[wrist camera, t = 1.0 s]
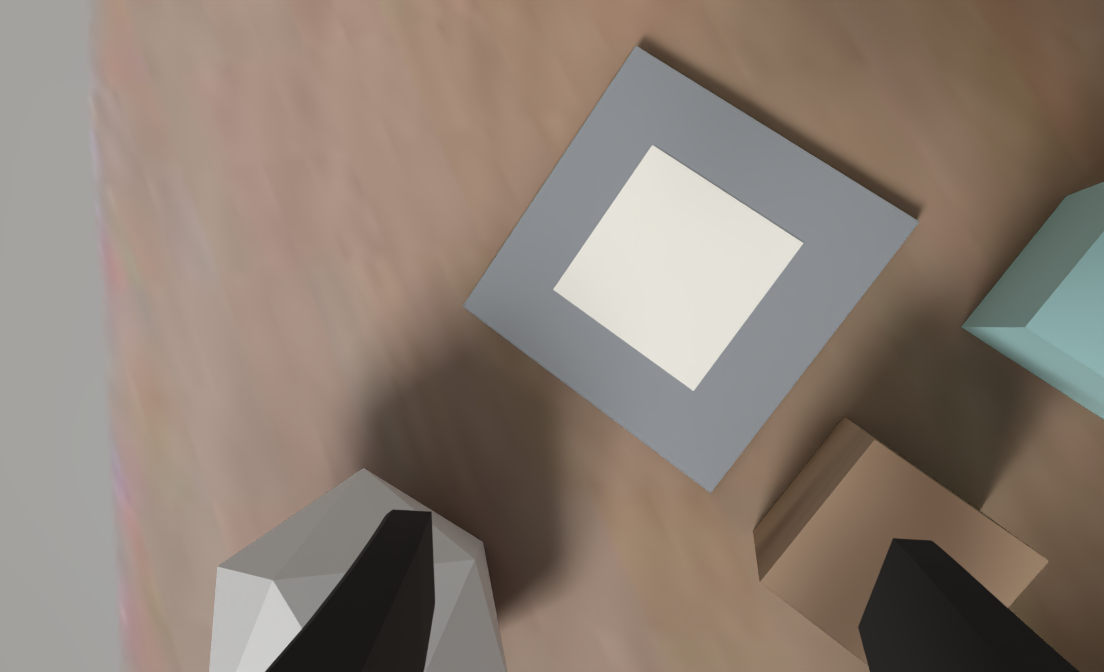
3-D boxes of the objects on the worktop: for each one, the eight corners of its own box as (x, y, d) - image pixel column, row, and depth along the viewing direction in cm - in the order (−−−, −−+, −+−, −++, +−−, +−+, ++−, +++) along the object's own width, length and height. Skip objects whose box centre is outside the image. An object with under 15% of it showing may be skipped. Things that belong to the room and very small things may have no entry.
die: (381, 412, 25) (90, 566, 19) (552, 468, 19) (212, 718, 13) (435, 592, 28) (196, 779, 22) (599, 689, 22) (336, 982, 16)
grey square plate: (916, 223, 20) (919, 221, 20) (710, 490, 22) (710, 493, 21) (637, 50, 22) (635, 45, 22) (467, 306, 24) (462, 306, 23)
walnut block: (978, 510, 20) (1048, 561, 16) (880, 626, 21) (921, 706, 16) (843, 415, 21) (874, 439, 17) (752, 530, 22) (760, 582, 17)
